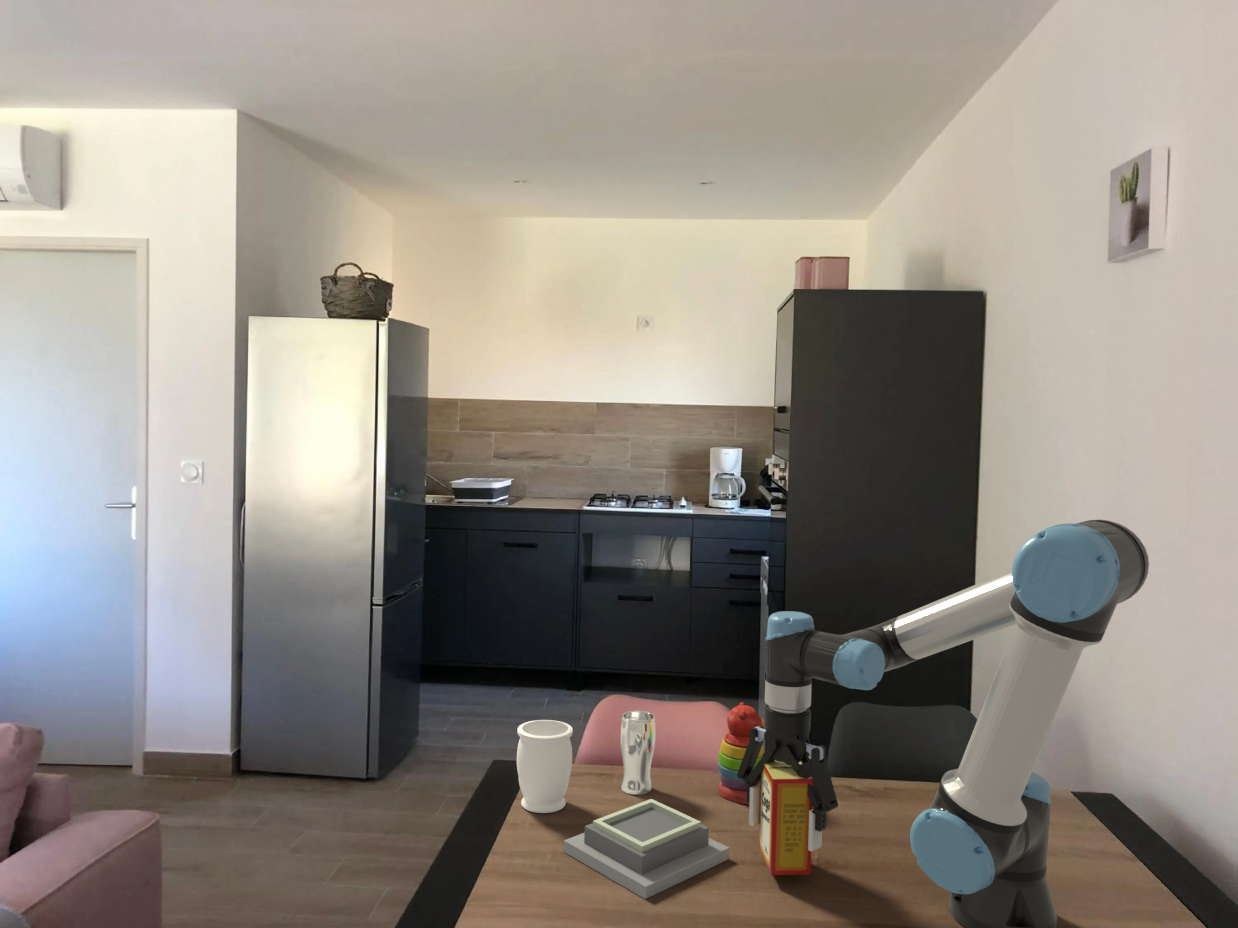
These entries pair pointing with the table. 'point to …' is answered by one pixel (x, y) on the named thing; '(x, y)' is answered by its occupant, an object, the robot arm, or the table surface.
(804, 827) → the baking soda box
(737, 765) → the stacking bear
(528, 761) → the jar
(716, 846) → the plinth
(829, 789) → the robot arm
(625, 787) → the beer glass
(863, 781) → the table surface
